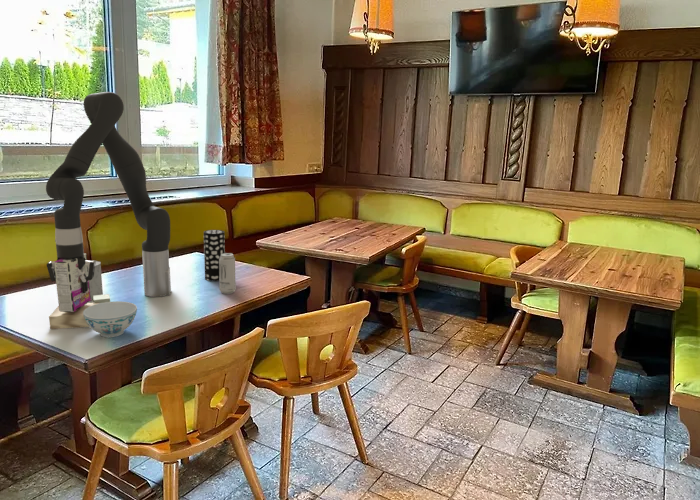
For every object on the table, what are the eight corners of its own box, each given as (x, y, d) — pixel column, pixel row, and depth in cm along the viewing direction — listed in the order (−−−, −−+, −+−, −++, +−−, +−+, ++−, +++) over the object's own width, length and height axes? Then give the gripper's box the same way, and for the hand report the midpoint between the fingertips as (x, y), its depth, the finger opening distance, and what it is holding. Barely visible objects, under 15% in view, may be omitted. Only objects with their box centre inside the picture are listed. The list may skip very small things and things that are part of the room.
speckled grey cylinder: (91, 301, 190) (89, 268, 187) (68, 298, 192) (65, 265, 189) (108, 293, 199) (106, 261, 196) (86, 290, 201) (83, 259, 198)
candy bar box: (76, 300, 176) (72, 252, 172) (91, 300, 176) (87, 253, 172) (57, 312, 165) (52, 261, 161) (73, 312, 165) (69, 261, 161)
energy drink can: (216, 292, 205) (215, 255, 201) (226, 288, 210) (226, 251, 206) (228, 295, 202) (227, 257, 198) (238, 291, 207) (238, 254, 204)
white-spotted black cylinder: (229, 278, 224) (228, 231, 219) (214, 282, 217) (213, 234, 212) (215, 274, 228) (214, 229, 224) (200, 278, 221) (199, 232, 217)
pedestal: (100, 313, 178) (99, 302, 177) (92, 326, 167) (91, 315, 166) (61, 315, 175) (60, 303, 175) (50, 328, 164) (48, 316, 163)
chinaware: (76, 342, 155) (73, 317, 153) (97, 323, 170) (95, 300, 168) (128, 343, 156) (126, 318, 154) (144, 324, 171) (143, 301, 169)
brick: (110, 307, 184) (109, 294, 183) (110, 312, 180) (110, 298, 179) (94, 309, 182) (93, 295, 181) (94, 314, 178) (93, 300, 177)
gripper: (97, 238, 170) (100, 288, 174) (47, 239, 167) (52, 290, 171) (91, 243, 163) (95, 295, 167) (40, 244, 160) (45, 297, 164)
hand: (73, 292), depth 169 cm, fingers closed on candy bar box, 5 cm apart
